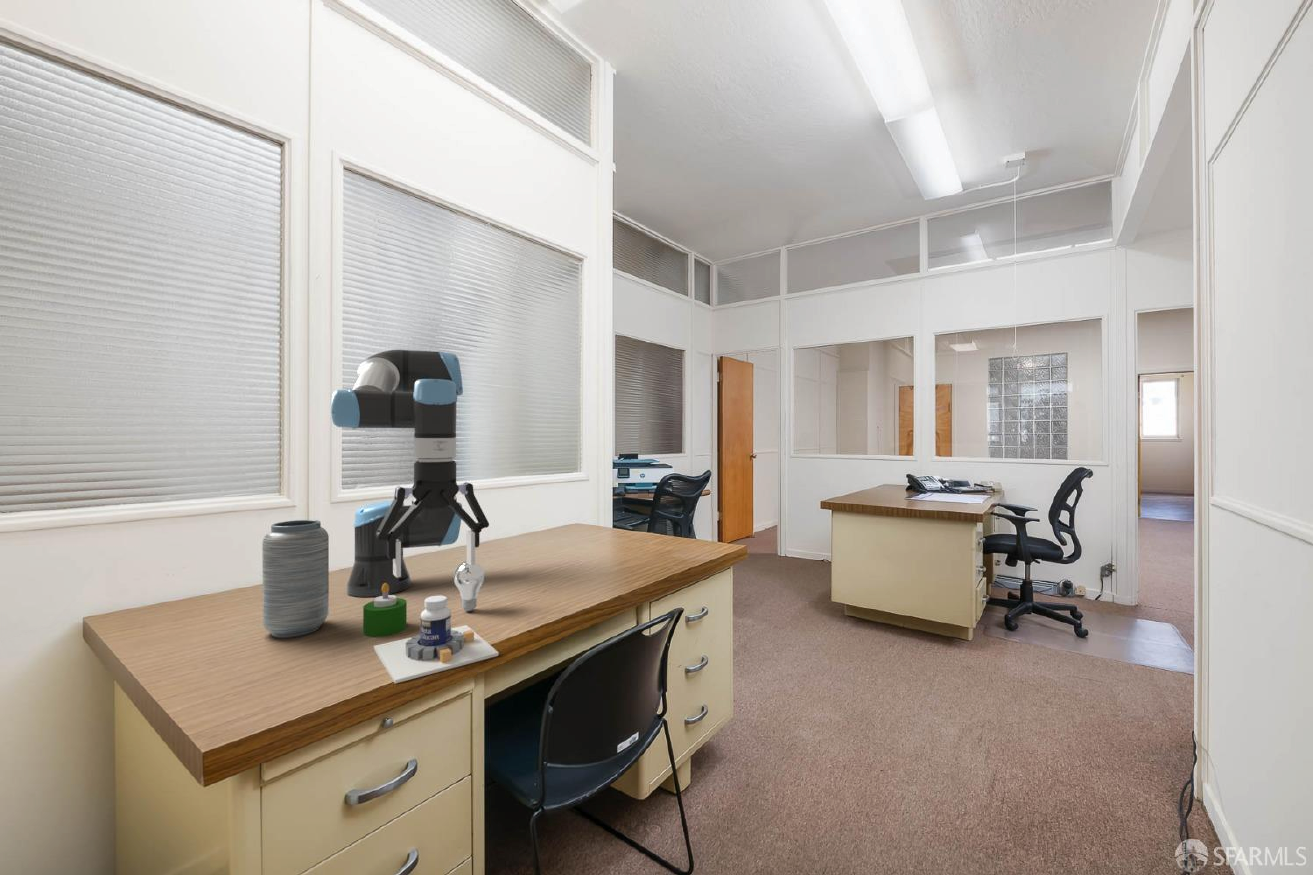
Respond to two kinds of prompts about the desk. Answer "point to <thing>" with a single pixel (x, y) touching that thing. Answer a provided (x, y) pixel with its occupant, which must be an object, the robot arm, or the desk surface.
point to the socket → (432, 654)
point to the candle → (384, 615)
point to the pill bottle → (435, 622)
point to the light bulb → (469, 583)
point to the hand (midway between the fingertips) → (435, 569)
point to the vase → (295, 578)
